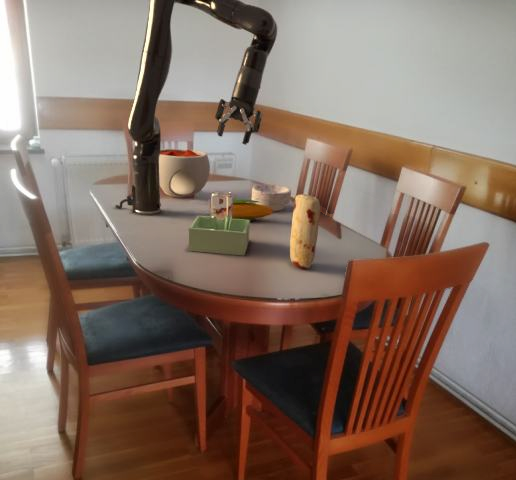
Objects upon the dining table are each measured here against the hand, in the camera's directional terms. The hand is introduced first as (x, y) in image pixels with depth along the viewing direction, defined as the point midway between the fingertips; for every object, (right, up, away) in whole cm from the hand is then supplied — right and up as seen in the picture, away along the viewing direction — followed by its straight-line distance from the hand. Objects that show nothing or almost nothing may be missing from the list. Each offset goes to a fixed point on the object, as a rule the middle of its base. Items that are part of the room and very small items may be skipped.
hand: (231, 140), depth 164 cm
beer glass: (-3, -33, -3) cm, 33 cm away
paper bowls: (+13, -10, +43) cm, 46 cm away
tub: (-4, -34, -3) cm, 34 cm away
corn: (+4, -19, +26) cm, 32 cm away
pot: (-24, -2, +53) cm, 58 cm away
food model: (+20, -42, -15) cm, 49 cm away
